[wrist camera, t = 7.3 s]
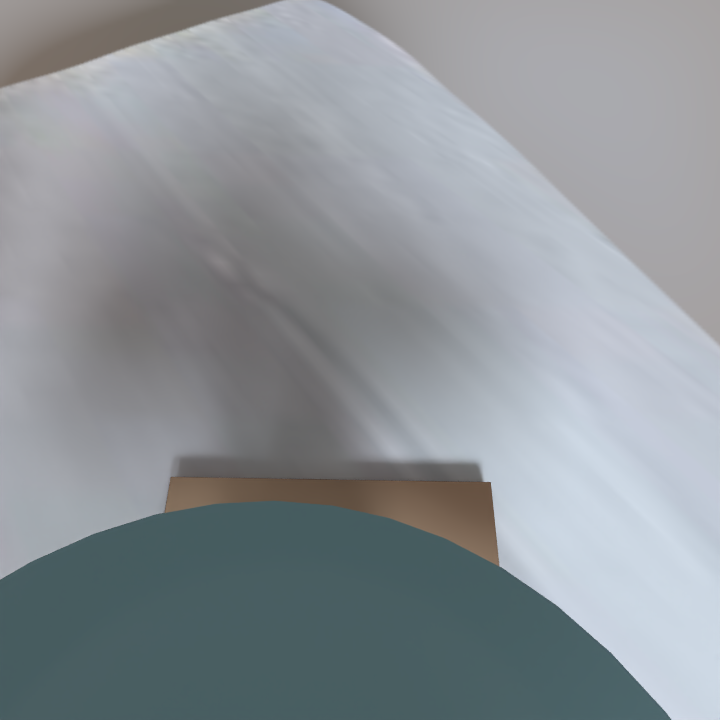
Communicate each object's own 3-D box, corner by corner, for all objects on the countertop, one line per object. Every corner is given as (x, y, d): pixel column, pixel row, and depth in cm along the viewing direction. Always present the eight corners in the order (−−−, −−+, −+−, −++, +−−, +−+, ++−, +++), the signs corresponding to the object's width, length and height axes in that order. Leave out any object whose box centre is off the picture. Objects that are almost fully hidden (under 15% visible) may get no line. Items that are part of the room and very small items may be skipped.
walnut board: (525, 904, 15) (535, 920, 14) (107, 907, 14) (94, 923, 13) (485, 486, 20) (490, 482, 19) (177, 481, 19) (170, 476, 19)
